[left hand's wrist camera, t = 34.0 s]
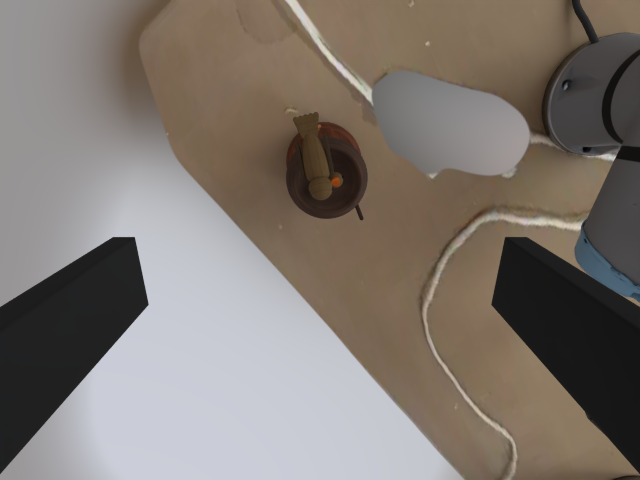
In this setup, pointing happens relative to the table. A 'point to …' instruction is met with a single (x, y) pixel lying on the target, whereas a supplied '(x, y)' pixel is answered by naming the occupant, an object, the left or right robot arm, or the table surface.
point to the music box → (325, 169)
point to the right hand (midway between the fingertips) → (595, 349)
